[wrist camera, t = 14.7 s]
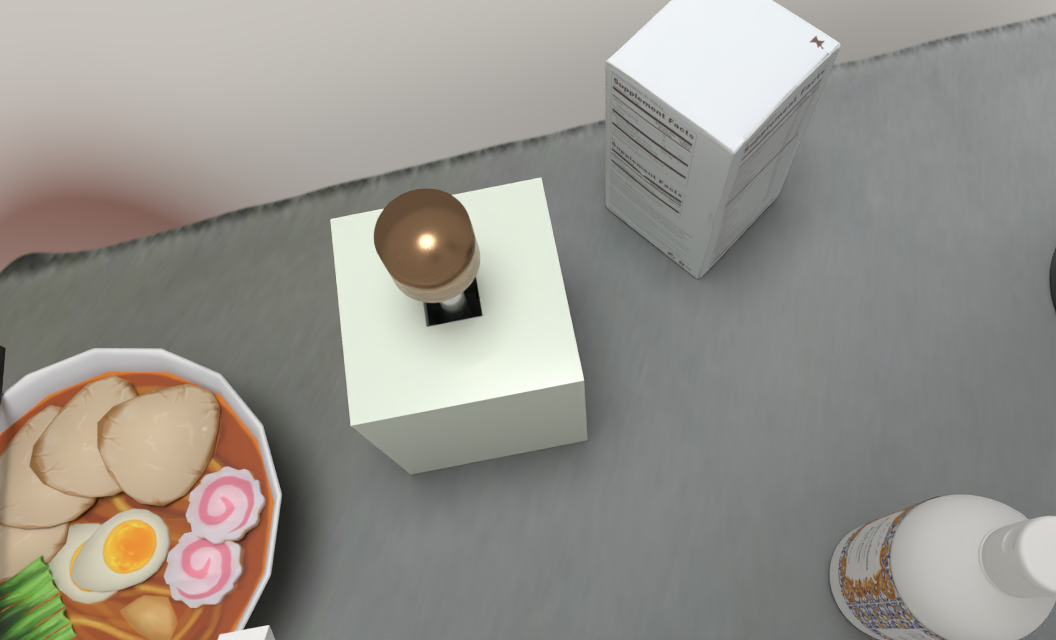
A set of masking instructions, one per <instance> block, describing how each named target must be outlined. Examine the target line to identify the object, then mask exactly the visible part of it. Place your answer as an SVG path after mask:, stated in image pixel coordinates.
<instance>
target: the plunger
mask: <svg viewBox="0 0 1056 640" xmlns="http://www.w3.org/2000/svg"><path fill="white" fill-rule="evenodd" d="M374 245H375V249H376V251H377V254H378V255H379V257H380V259H381V261H382V262H383V264H384V266H385V267H386V269H387V271H388V273H389V274H390V276H391V278H392V279H393V281H394V283H395V284H396V286H397V287H398V288H399V289H400V290H401V291H402V292H403V293H404V294H405V295H406V296H408V297H410V298H412V299H414V300H417V301H420V302H426V306H427V313H428V321H429V326H434V325H439V324H444V323H449V322H454V321H459V320H465V319H470V318H475V317H480V316H483V315H482V309H481V303H480V297H479V291H478V292H473V293H468V294H464V291H465V290H466V289H467V288H468V287H469V286H470V285H471V283H472V282H473V280H474V279H475V277H476V275H477V273H478V270H479V266H480V250H479V246H478V243H477V240H476V237H475V233H474V230H473V227H472V224H471V221H470V218H469V215H468V213H467V211H466V209H465V207H464V206H463V205H462V203H461V202H460V201H459V200H457V199H456V198H455V197H453V196H452V195H450V194H448V193H446V192H443V191H441V190H436V189H417V190H413V191H409V192H407V193H404V194H402V195H400V196H398V197H397V198H395V199H394V200H393V201H391V202H390V203H389V204H388V205H387V206H386V207H385V208H384V210H383V211H382V212H381V214H380V216H379V217H378V219H377V222H376V225H375V229H374Z"/></svg>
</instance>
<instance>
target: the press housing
mask: <svg viewBox="0 0 1056 640" xmlns="http://www.w3.org/2000/svg"><path fill="white" fill-rule="evenodd" d="M452 196H453V197H455V198H456V199H457V200H459V201H460V202H461V203H462V205H463V206H464V207H465V209H466V211H467V213H468V215H469V218H470V221H471V224H472V227H473V230H474V233H475V237H476V240H477V243H478V246H479V250H480V266H479V270H478V273H477V275H476V277H475V279H474V280H473V282H472V283H471V285H470V286H469V287H468V288H467V289H466V290H465V291H464V294H468V293H473V292H478V291H479V297H480V303H481V309H482V315H483V316H480V317H475V318H470V319H465V320H459V321H454V322H449V323H444V324H439V325H434V326H429V321H428V313H427V306H426V302H420V301H417V300H414V299H412V298H410V297H408V296H406V295H405V294H404V293H403V292H402V291H401V290H400V289H399V288H398V287H397V286H396V284H395V283H394V281H393V279H392V278H391V276H390V274H389V273H388V271H387V269H386V267H385V266H384V264H383V262H382V261H381V259H380V257H379V255H378V254H377V251H376V249H375V245H374V229H375V225H376V222H377V219H378V217H379V216H380V214H381V212H382V211H383V210H384V209H380V210H375V211H370V212H364V213H359V214H354V215H349V216H344V217H339V218H334V219H331V229H332V239H333V250H334V260H335V270H336V280H337V290H338V301H339V311H340V321H341V331H342V342H343V352H344V362H345V372H346V382H347V393H348V403H349V413H350V423H351V426H352V427H353V428H354V429H355V430H356V431H358V432H359V433H360V434H361V435H363V436H364V437H365V438H366V439H368V440H369V441H370V442H371V443H373V444H374V445H375V446H376V447H377V448H379V449H380V450H381V451H382V452H384V453H385V454H386V455H387V456H389V457H390V458H391V459H392V460H393V461H395V462H396V463H397V464H398V465H400V466H401V467H402V468H403V469H405V470H406V471H407V472H408V473H409V474H411V475H412V474H417V473H422V472H427V471H432V470H437V469H443V468H448V467H453V466H458V465H463V464H468V463H474V462H479V461H484V460H489V459H494V458H499V457H505V456H510V455H515V454H520V453H525V452H530V451H536V450H541V449H546V448H551V447H556V446H561V445H567V444H572V443H577V442H582V441H587V440H588V438H587V421H586V404H585V386H584V377H583V373H582V368H581V363H580V358H579V354H578V349H577V344H576V340H575V335H574V330H573V325H572V321H571V316H570V311H569V307H568V302H567V297H566V292H565V288H564V283H563V278H562V274H561V269H560V264H559V259H558V255H557V250H556V245H555V240H554V236H553V231H552V226H551V222H550V217H549V212H548V207H547V203H546V198H545V193H544V189H543V184H542V179H541V178H536V179H531V180H526V181H521V182H516V183H511V184H506V185H501V186H496V187H491V188H486V189H481V190H476V191H471V192H466V193H460V194H455V195H452Z"/></svg>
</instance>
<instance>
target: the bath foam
mask: <svg viewBox="0 0 1056 640" xmlns="http://www.w3.org/2000/svg"><path fill="white" fill-rule="evenodd" d="M830 585H831V589H832V593H833V596H834V598H835V601H836V603H837V605H838V607H839V608H840V610H841V611H842V613H843V614H844V615H845V617H846V618H847V619H848V620H849V621H850V622H851V623H852V624H853V625H854V626H855V627H857V628H858V629H860V630H861V631H863V632H864V633H866V634H868V635H870V636H872V637H874V638H876V639H879V640H1019V639H1021V638H1023V637H1025V636H1027V635H1028V634H1030V633H1031V632H1032V631H1034V630H1035V629H1036V628H1038V627H1039V626H1040V625H1041V624H1042V623H1043V622H1044V620H1045V619H1046V618H1047V616H1048V615H1049V614H1050V612H1051V610H1052V608H1053V606H1054V604H1055V601H1056V516H1042V517H1038V518H1033V519H1028V518H1026V517H1025V516H1024V515H1023V514H1021V513H1020V512H1018V511H1017V510H1015V509H1013V508H1011V507H1010V506H1007V505H1005V504H1003V503H1001V502H998V501H996V500H993V499H989V498H985V497H981V496H975V495H945V496H939V497H935V498H932V499H929V500H926V501H924V502H921V503H918V504H916V505H913V506H911V507H908V508H905V509H903V510H900V511H898V512H895V513H892V514H890V515H887V516H885V517H882V518H879V519H877V520H874V521H872V522H869V523H867V524H865V525H862V526H860V527H858V528H856V529H854V530H852V531H851V532H850V533H848V534H847V535H846V536H845V537H844V538H843V539H842V540H841V541H840V543H839V544H838V546H837V547H836V549H835V551H834V553H833V556H832V559H831V563H830Z"/></svg>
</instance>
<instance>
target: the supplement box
mask: <svg viewBox="0 0 1056 640" xmlns="http://www.w3.org/2000/svg"><path fill="white" fill-rule="evenodd" d="M840 46H841V45H840V43H838V42H837V41H835V40H834V39H833V38H831V37H829V36H828V35H826V34H825V33H823V32H822V31H820V30H818V29H817V28H815V27H814V26H812V25H811V24H809V23H808V22H806V21H804V20H803V19H801V18H800V17H798V16H796V15H795V14H793V13H791V12H790V11H789V10H787V9H785V8H784V7H782V6H781V5H779V4H777V3H776V2H774V1H773V0H671V1H670V2H669V3H668V4H667V5H666V6H665V7H664V8H662V9H661V10H660V11H659V12H658V13H657V14H656V15H655V16H654V17H653V18H652V19H651V20H650V21H649V22H648V23H647V24H646V25H645V26H644V27H642V29H640V30H639V31H638V32H637V33H636V34H635V35H634V36H633V37H632V38H631V39H630V40H629V41H628V42H627V43H626V44H624V46H622V47H621V48H620V49H619V50H618V51H617V52H616V53H615V54H614V55H613V56H612V57H610V58H609V59H608V60H607V61H606V150H605V189H606V192H605V201H606V204H605V205H606V207H607V208H608V209H609V210H610V211H612V212H613V213H614V214H615V215H616V216H618V217H619V218H620V219H622V220H623V221H624V222H625V223H627V224H628V225H629V226H630V227H632V228H633V229H634V230H635V231H637V232H638V233H639V234H641V235H642V236H643V237H644V238H646V239H647V240H648V241H649V242H651V243H652V244H653V245H654V246H656V247H657V248H658V249H660V250H661V251H662V252H663V253H665V254H666V255H667V256H668V257H670V258H671V259H672V260H673V261H675V262H676V263H677V264H679V265H680V266H681V267H682V268H684V269H685V270H686V271H687V272H689V273H690V274H691V275H692V276H694V277H695V278H697V279H700V278H701V277H702V276H703V275H704V274H705V273H706V272H707V271H708V270H709V269H710V268H711V267H712V266H713V265H714V264H715V263H716V262H717V261H718V260H719V259H720V258H721V257H722V256H723V255H724V254H725V253H726V252H727V250H728V249H729V248H730V247H731V246H732V245H733V244H734V243H735V242H736V241H737V240H738V238H739V237H740V236H741V235H742V234H743V233H744V232H745V231H746V230H747V229H748V228H749V227H750V226H751V225H752V224H753V223H754V222H755V220H756V219H757V218H758V217H759V216H760V215H761V214H762V213H763V212H764V211H765V210H766V209H767V208H768V207H769V206H770V205H771V204H772V203H773V201H774V200H775V199H776V198H777V197H778V195H779V193H780V191H781V189H782V186H783V184H784V182H785V179H786V177H787V174H788V172H789V169H790V167H791V165H792V162H793V160H794V157H795V155H796V152H797V150H798V148H799V145H800V143H801V140H802V138H803V135H804V133H805V130H806V128H807V126H808V123H809V120H810V118H811V116H812V114H813V111H814V109H815V106H816V104H817V102H818V100H819V97H820V95H821V93H822V90H823V88H824V85H825V83H826V81H827V78H828V76H829V73H830V71H831V69H832V66H833V64H834V61H835V59H836V56H837V54H838V52H839V49H840Z"/></svg>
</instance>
